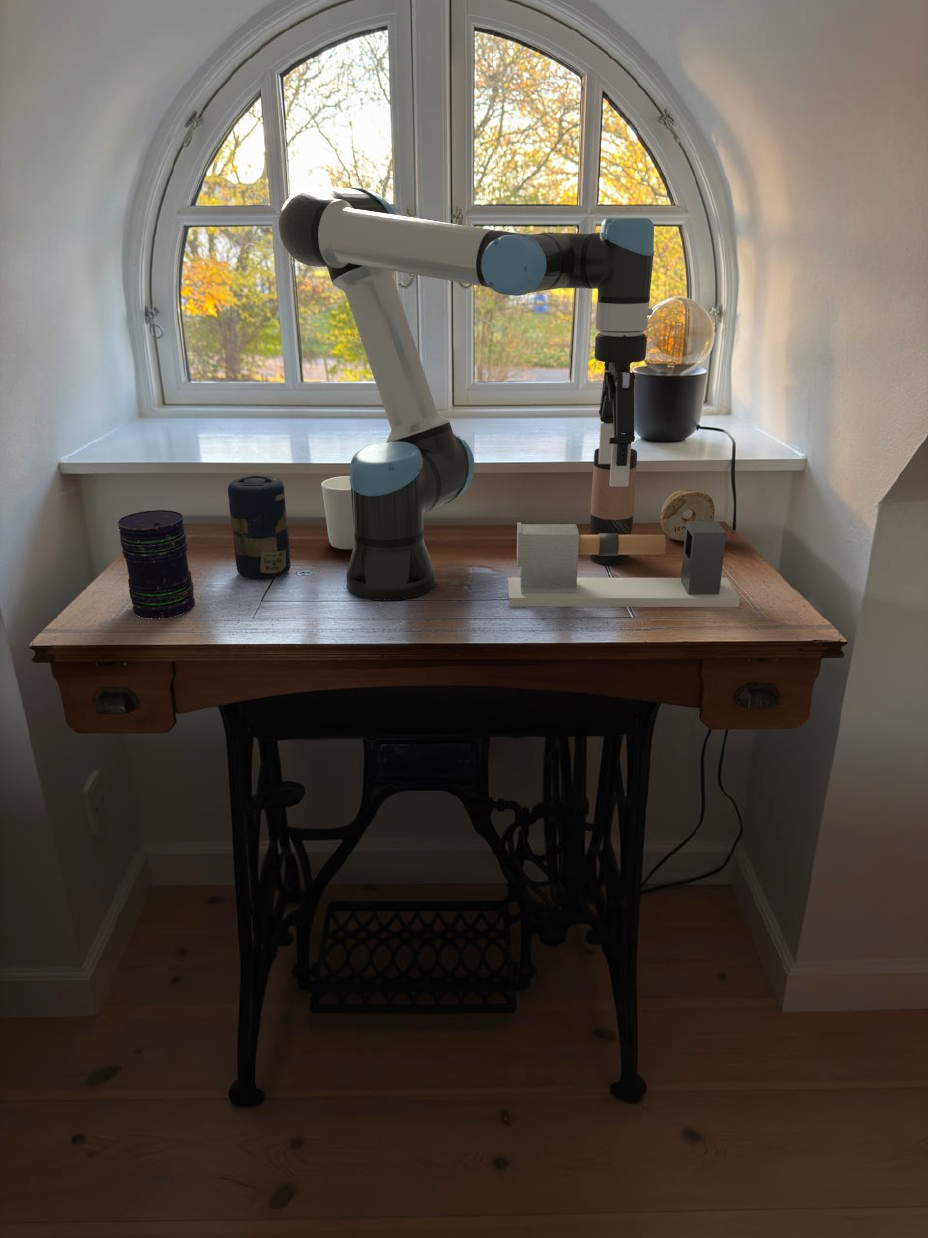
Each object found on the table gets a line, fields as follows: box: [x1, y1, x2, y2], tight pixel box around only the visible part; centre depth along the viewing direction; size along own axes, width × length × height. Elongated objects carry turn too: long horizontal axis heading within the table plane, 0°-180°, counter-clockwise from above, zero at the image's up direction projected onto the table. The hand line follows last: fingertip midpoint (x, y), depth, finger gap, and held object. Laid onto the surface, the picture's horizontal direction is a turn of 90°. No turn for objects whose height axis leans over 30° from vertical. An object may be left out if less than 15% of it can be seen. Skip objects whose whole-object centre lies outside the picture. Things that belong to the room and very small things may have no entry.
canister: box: [227, 474, 292, 581], centre depth 154 cm, size 10×10×18 cm
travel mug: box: [589, 447, 638, 566], centre depth 160 cm, size 8×8×20 cm
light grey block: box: [516, 522, 580, 594], centre depth 145 cm, size 10×5×10 cm, turn 89°
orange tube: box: [578, 533, 667, 556], centre depth 144 cm, size 22×4×4 cm, turn 89°
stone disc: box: [659, 489, 716, 542], centre depth 172 cm, size 10×4×10 cm, turn 97°
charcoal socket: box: [680, 520, 727, 595], centre depth 144 cm, size 5×6×10 cm
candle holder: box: [320, 475, 355, 550], centre depth 171 cm, size 10×10×12 cm
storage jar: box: [117, 509, 196, 620], centre depth 142 cm, size 10×10×15 cm
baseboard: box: [507, 577, 741, 608], centre depth 147 cm, size 37×9×2 cm, turn 89°
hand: (612, 474), depth 139 cm, fingers open, 13 cm apart
